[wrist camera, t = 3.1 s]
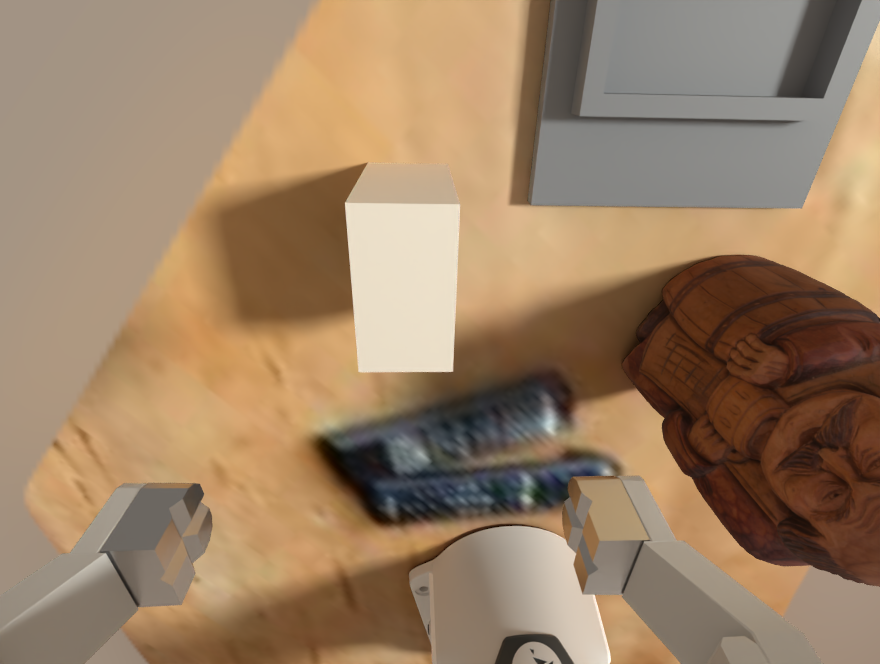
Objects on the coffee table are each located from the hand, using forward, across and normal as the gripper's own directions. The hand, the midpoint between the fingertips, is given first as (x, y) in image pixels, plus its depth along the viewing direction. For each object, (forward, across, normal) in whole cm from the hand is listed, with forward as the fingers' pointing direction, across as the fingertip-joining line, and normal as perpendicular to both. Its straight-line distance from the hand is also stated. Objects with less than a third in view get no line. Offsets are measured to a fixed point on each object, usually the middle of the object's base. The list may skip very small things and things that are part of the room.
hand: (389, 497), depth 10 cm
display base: (+20, +15, +9) cm, 27 cm away
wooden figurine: (+20, +19, -7) cm, 28 cm away
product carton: (+20, 0, 0) cm, 20 cm away
